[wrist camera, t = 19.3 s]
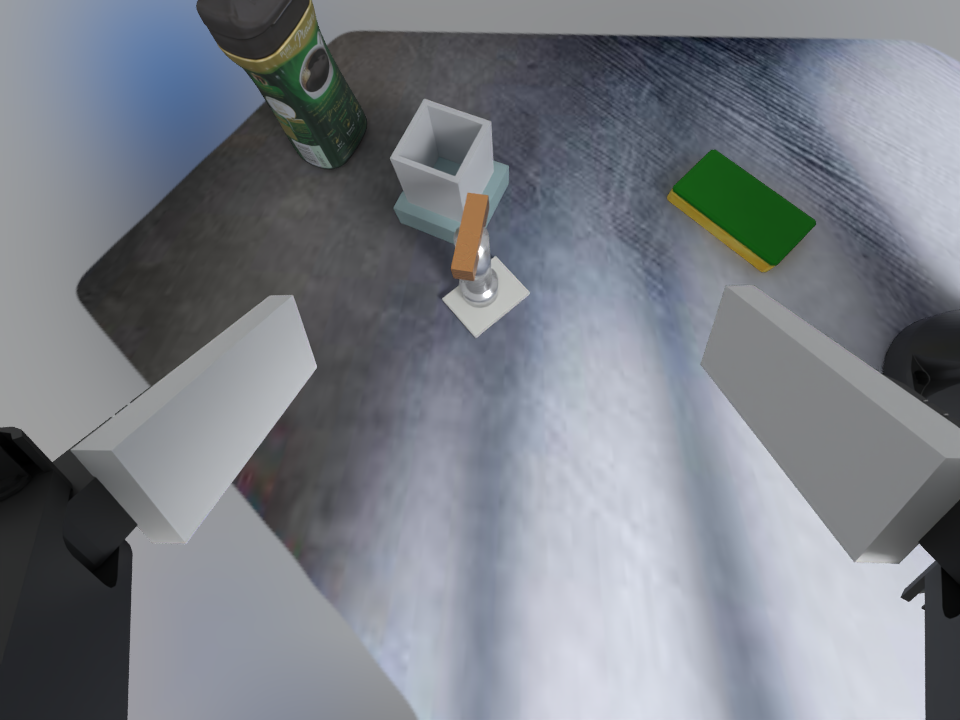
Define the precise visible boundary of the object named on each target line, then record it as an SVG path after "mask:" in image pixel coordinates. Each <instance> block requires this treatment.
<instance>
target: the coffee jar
mask: <svg viewBox="0 0 960 720" xmlns="http://www.w3.org/2000/svg"><path fill="white" fill-rule="evenodd" d="M196 7H197V11H198V13H199V15H200V17H201V19H202V21H203V22H204V24H205V25H206V26H207V27H208V29H209V31H210V33H211V34H212V36H213V37H214V39H215V41H216V42H217V44H218V46H219V47H220V49H221V50H222V51H223V52H224V53H225V54H226V56H228V57H229V58H230V59H231V60H232V61H233V62H235V63H236V64H237V65H239V66H240V67H242V68H243V69H244V70H245V71H246V72H247V74H248V75H249V76H250V78H251V79H252V80H253V82H254V83H255V85H256V86H257V88H258V89H259V91H260V92H261V94H262V95H263V97H264V99H265V100H266V102H267V103H268V105H269V107H270V108H271V110H272V112H273V113H274V115H275V117H276V118H277V120H278V122H279V123H280V125H281V127H282V129H283V130H284V132H285V134H286V136H287V137H288V139H289V140H290V142H291V144H292V145H293V147H294V148H295V150H296V151H297V153H298V154H299V155H300V157H302V158H303V159H304V160H305V161H307V162H309V163H311V164H313V165H314V166H317V167H320V168H325V169H334V168H338V167H340V166H342V165H343V164H344V163H345V162H346V161H347V160H348V159H349V158H350V156H351V155H352V154H353V152H354V151H355V150H356V148H357V146H358V145H359V143H360V141H361V139H362V137H363V135H364V133H365V131H366V127H367V120H366V117H365V114H364V112H363V110H362V108H361V106H360V105H359V103H358V101H357V99H356V98H355V96H354V94H353V92H352V91H351V89H350V87H349V86H348V84H347V82H346V81H345V79H344V77H343V75H342V73H341V72H340V70H339V68H338V66H337V64H336V62H335V61H334V59H333V57H332V55H331V53H330V51H329V49H328V47H327V45H326V43H325V41H324V39H323V36H322V34H321V32H320V29H319V26H318V23H317V20H316V15H315V11H314V6H313V3H312V0H198V1H197V5H196Z"/></svg>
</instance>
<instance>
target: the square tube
mask: <svg viewBox="0 0 960 720" xmlns="http://www.w3.org/2000/svg"><path fill="white" fill-rule="evenodd" d="M390 160H391V162H392V164H393V167H394V169H395V172H396V174H397V176H398V179H399V181H400V184H401V186H402V188H403V192H402V193H401V195H400V197H399V199H398V200H397V202H396V204H395V206H394V210H395V212H396V214H397V216H398V218H399V220H400V223H403V224H405V225H408V226H410V227H413V228H415V229H418V230H420V231H423V232H425V233H428V234H430V235H433V236H435V237H438V238H440V239H443V240H445V241H448V242H450V243H453V244H454V240H453V239H454V233H455V231H456V229H457V228H458V227H459V226H460V224H461V220H462V215H463V211H464V206H465V202H466V197H467V193H475V194H483V195H489V213H488V218H487V222H486V227H487V225H488V223H489V221H490V219H491V217H492V215H493V213H494V211H495V209H496V207H497V205H498V203H499V201H500V200H501V198H502V196H503V194H504V192H505V190H506V188H507V186H508V184H509V166H507V165H505V164H502V163H499V162H496V161H493V147H492V128H491V121H488V120H485V119H482V118H479V117H476V116H473V115H470V114H467V113H465V112H462V111H459V110H456V109H453V108H450V107H447V106H444V105H441V104H438V103H435V102H432V101H429V100H426V99H424V100H423V102H422V104H421V105H420V107H419V109H418V111H417V112H416V114H415V116H414V117H413V119H412V121H411V123H410V124H409V126H408V128H407V130H406V131H405V133H404V135H403V136H402V138H401V140H400V142H399V143H398V145H397V147H396V149H395V150H394V152H393V154H392V156H391V157H390ZM486 227H485V228H486Z"/></svg>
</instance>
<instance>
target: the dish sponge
mask: <svg viewBox="0 0 960 720" xmlns="http://www.w3.org/2000/svg"><path fill="white" fill-rule="evenodd" d="M667 200H668V201H669V202H671V203H672V204H673V205H675V206H676V207H677V208H679V209H680V210H681V211H683V212H684V213H685V214H686V215H688V216H689V217H690V218H692V219H693V220H694V221H696V222H697V223H698V224H699V225H701V226H702V227H703V228H705V229H706V230H707V231H709V232H710V233H711V234H713V235H714V236H715V237H716V238H718V239H719V240H720V241H722V242H723V243H724V244H726V245H727V246H728V247H729V248H731V249H732V250H733V251H735V252H736V253H737V254H739V255H740V256H741V257H743V258H744V259H745V260H746V261H748V262H749V263H750V264H752V265H753V266H754V267H756V268H757V269H758V270H759V271H761V272H767V271H769V270H770V269H772V268H773V267H774V266H776V265H778V264H779V263H780V262H781V261H782V260H783V258H784V257H785V256H786V255H787V254H788V253H789V252H790V251H791V250H792V249H793V248H794V247H795V246H796V245H797V244H798V243H799V242H800V241H801V240H802V239H803V238H804V237H805V236H806V235H807V234H808V232H809V231H810V230H811V229H812V228H813V227H814V226H815V225H816V221H815V220H814V219H813V218H811V217H810V216H808V215H807V214H806V213H804V212H803V211H801V210H800V209H799V208H797V207H796V206H794V205H793V204H792V203H790V202H789V201H787V200H786V199H784V198H783V197H782V196H780V195H779V194H777V193H776V192H775V191H773V190H772V189H770V188H769V187H768V186H766V185H765V184H763V183H762V182H760V181H759V180H758V179H756V178H755V177H753V176H752V175H751V174H749V173H748V172H746V171H745V170H744V169H742V168H741V167H739V166H738V165H737V164H735V163H734V162H732V161H731V160H729V159H728V158H727V157H725V156H724V155H722V154H721V153H720V152H718V151H717V150H711V151H709V152H708V153H707V154H706V155H705V156H704V157H703V158H702V159H701V160H700V161H699V162H698V163H697V164H696V165H695V166H694V167H693V168H692V169H691V170H690V171H689V172H688V173H687V174H686V175H685V176H684V177H683V178H682V179H681V180H680V181H679V182H677V183H676V184H675V185H674V187H673V189H672V190H671V191H670V193H669V194H668V196H667Z"/></svg>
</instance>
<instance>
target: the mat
mask: <svg viewBox="0 0 960 720" xmlns="http://www.w3.org/2000/svg"><path fill="white" fill-rule="evenodd" d="M491 268H493V269H494V271H495V272H496V274H497V277H498V290H499V291H498V296H497V298H496V300H495V301H494V302H493V303H492V304H491V305H489V306H487V307H483V308H476V307H473V306H471V305H469V304H468V303H467V302H466V301H465V300H464V298H463V296H462V292H461V289H460V285H459V286H457V287H456V288H455V289H454V290H452V291H451V292H450V293H449V294H447V295H446V296H445V297H444V298H442V300H443V301H444V302H445V304H446V305H447V306H448V307H449V308H450V309H451V311H452V312H453V313H454V314H455V315H456V316H457V317H458V319H459V320H460V321H461V322H462V323H463V324H464V326H465V327H466V328H467V329H468V330H469V331H470V333H471V334H472V335H473V336H474V337H475V338H477V337H478V336H479V335H481V334H482V333H483V332H484V331H486V330H487V329H488V328H489V327H490V326H492V325H493V324H494V323H495V322H496V321H498V320H499V319H500V318H501V317H503V316H504V315H505V314H506V313H507V312H509V311H510V310H511V309H512V308H514V307H515V306H516V305H517V304H518V303H520V302H521V301H522V300H523V299H525V298H526V297H527V296H528V295H529V294H530V292H529V291H528V290H527V289H526V288H525V287H524V286H523V285H522V284H521V282H520V281H519V280H518V279H517V278H516V277H515V276H514V275H513V274H512V273H511V272H510V271H509V270H508V269H507V268H506V267H505V265H504V264H503V263H502V262H501V261H500V260H499V259H498V258H497V257H496V256H495V257H494V258H492V259H491Z"/></svg>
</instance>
